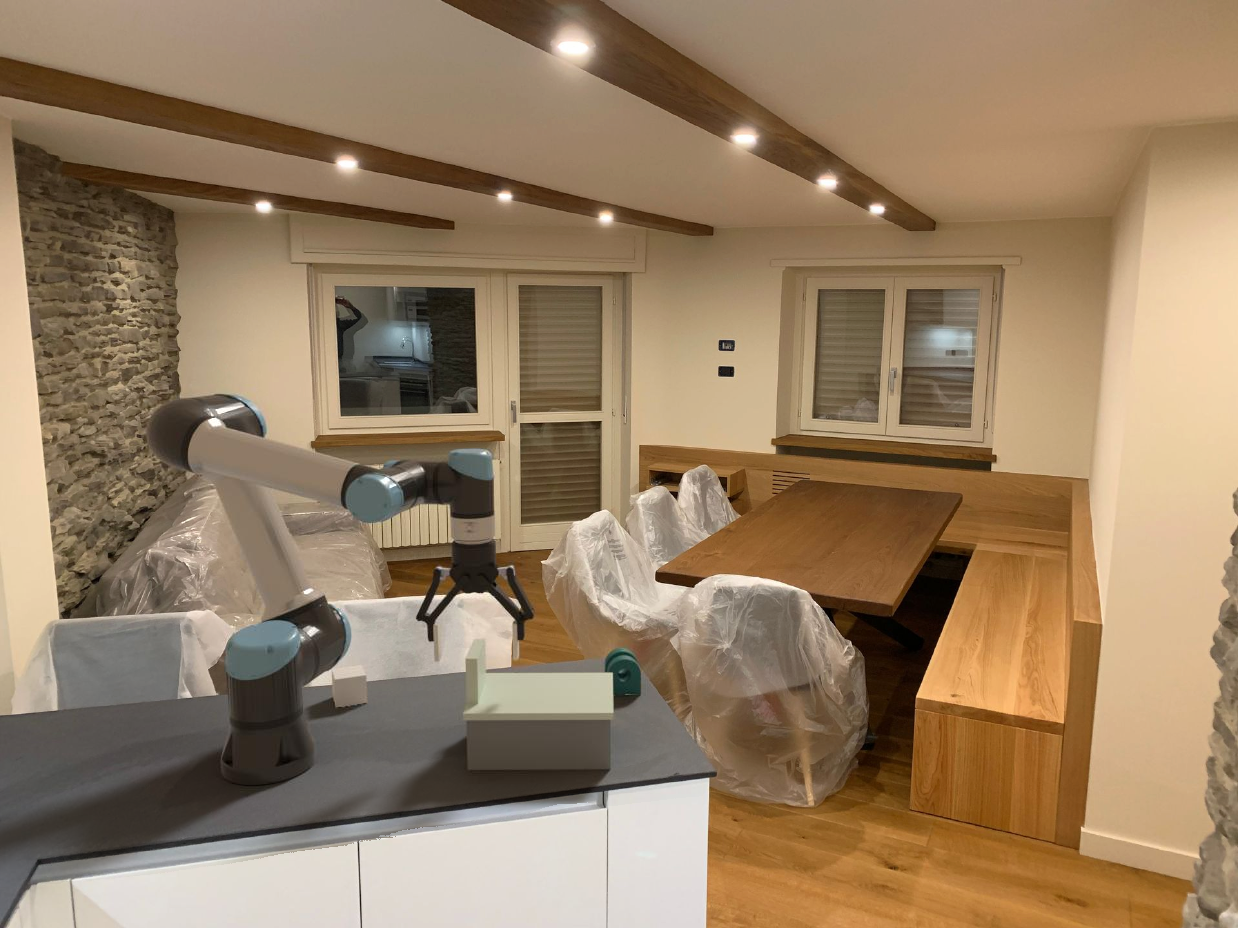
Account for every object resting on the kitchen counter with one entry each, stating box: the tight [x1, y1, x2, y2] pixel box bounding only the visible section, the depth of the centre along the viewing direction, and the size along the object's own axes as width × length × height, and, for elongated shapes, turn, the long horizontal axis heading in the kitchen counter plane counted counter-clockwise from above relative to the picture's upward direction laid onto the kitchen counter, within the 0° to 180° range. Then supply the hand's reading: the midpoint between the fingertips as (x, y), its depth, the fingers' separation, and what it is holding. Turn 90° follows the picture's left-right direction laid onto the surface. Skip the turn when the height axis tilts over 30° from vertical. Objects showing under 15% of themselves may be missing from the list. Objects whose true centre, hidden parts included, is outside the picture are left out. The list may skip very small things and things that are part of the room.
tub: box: [465, 720, 611, 771], centre depth 159 cm, size 24×17×9 cm
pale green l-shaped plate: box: [462, 638, 614, 721], centre depth 157 cm, size 25×18×11 cm
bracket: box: [604, 647, 642, 696], centre depth 184 cm, size 18×7×8 cm, turn 96°
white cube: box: [331, 664, 368, 708], centre depth 179 cm, size 6×6×6 cm
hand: (477, 658), depth 157 cm, fingers open, 13 cm apart
